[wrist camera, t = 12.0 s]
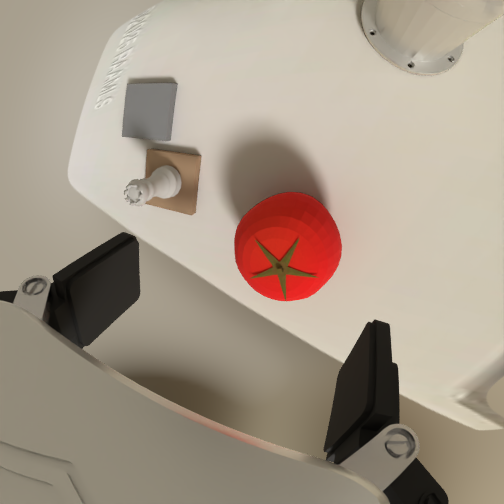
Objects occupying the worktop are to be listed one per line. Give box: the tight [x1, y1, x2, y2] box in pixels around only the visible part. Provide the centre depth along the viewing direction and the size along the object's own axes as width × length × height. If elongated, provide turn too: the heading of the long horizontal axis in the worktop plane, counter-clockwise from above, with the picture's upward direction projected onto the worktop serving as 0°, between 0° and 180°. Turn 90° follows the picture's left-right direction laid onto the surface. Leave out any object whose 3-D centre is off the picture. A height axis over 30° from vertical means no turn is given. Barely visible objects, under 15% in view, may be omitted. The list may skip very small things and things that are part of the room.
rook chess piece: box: [124, 165, 181, 206], centre depth 34 cm, size 4×4×8 cm
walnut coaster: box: [145, 149, 201, 215], centre depth 39 cm, size 8×8×1 cm
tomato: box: [234, 192, 342, 301], centre depth 32 cm, size 12×12×10 cm
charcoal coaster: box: [122, 83, 177, 141], centre depth 35 cm, size 8×8×1 cm
